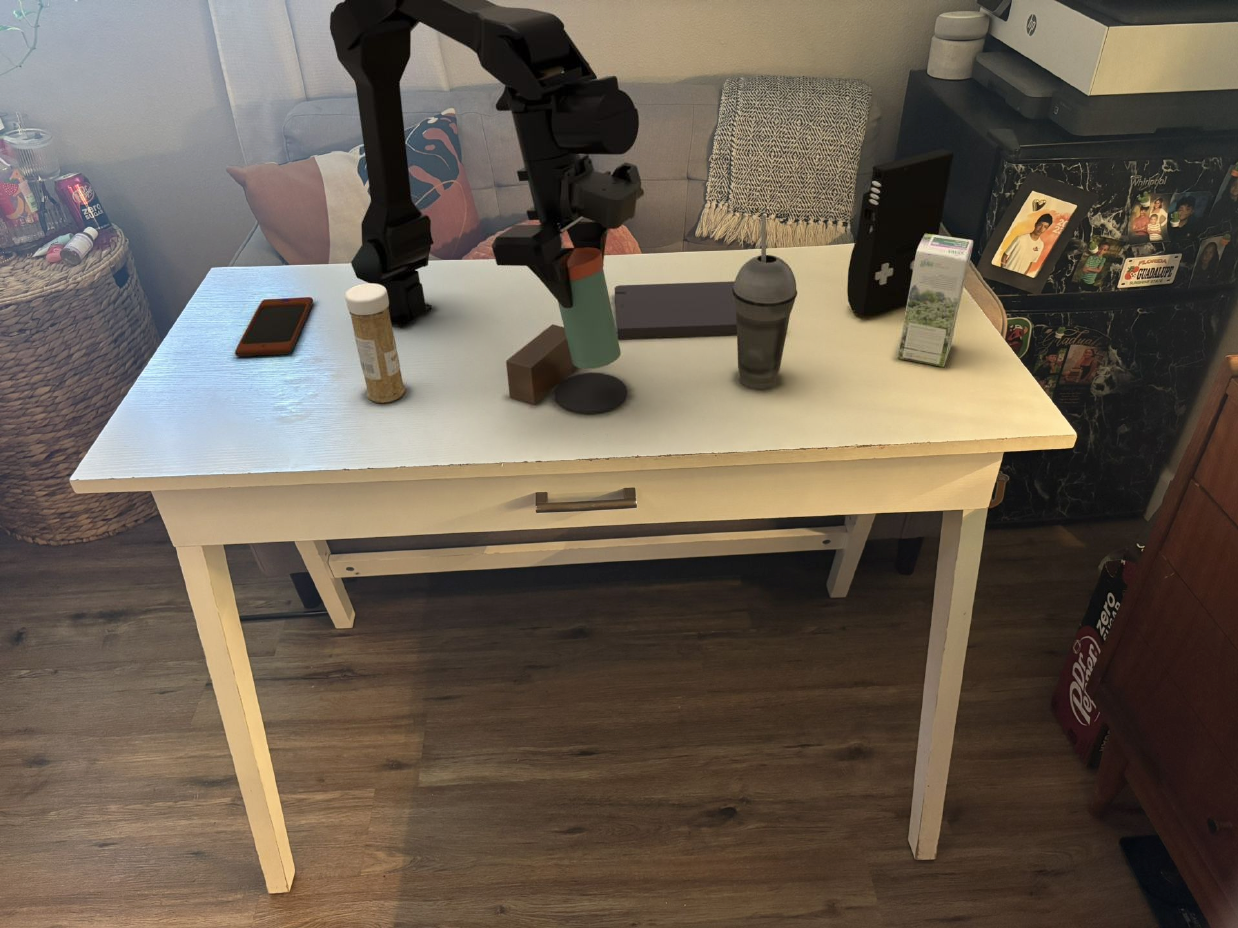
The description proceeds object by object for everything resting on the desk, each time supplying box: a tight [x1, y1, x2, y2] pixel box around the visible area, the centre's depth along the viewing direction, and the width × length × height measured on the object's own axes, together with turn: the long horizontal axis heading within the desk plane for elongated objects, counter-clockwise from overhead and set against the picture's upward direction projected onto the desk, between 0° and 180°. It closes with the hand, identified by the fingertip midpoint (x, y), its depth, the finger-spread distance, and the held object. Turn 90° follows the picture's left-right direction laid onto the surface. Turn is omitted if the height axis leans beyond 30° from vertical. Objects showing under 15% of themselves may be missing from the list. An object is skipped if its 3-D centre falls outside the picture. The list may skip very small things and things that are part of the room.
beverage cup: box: [732, 214, 798, 390], centre depth 106 cm, size 7×7×20 cm
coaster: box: [553, 372, 628, 415], centre depth 110 cm, size 9×9×1 cm
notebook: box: [614, 280, 737, 340], centre depth 125 cm, size 13×2×21 cm
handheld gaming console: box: [846, 148, 955, 318], centre depth 121 cm, size 12×5×20 cm, turn 120°
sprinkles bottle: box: [344, 283, 406, 404], centre depth 107 cm, size 5×5×14 cm
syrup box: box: [897, 234, 974, 368], centre depth 111 cm, size 6×6×14 cm
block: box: [505, 323, 578, 405], centre depth 111 cm, size 4×10×5 cm, turn 151°
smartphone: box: [234, 296, 314, 357], centre depth 124 cm, size 7×1×15 cm
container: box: [557, 247, 622, 370], centre depth 103 cm, size 12×6×12 cm
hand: (582, 296), depth 102 cm, fingers closed on container, 5 cm apart
